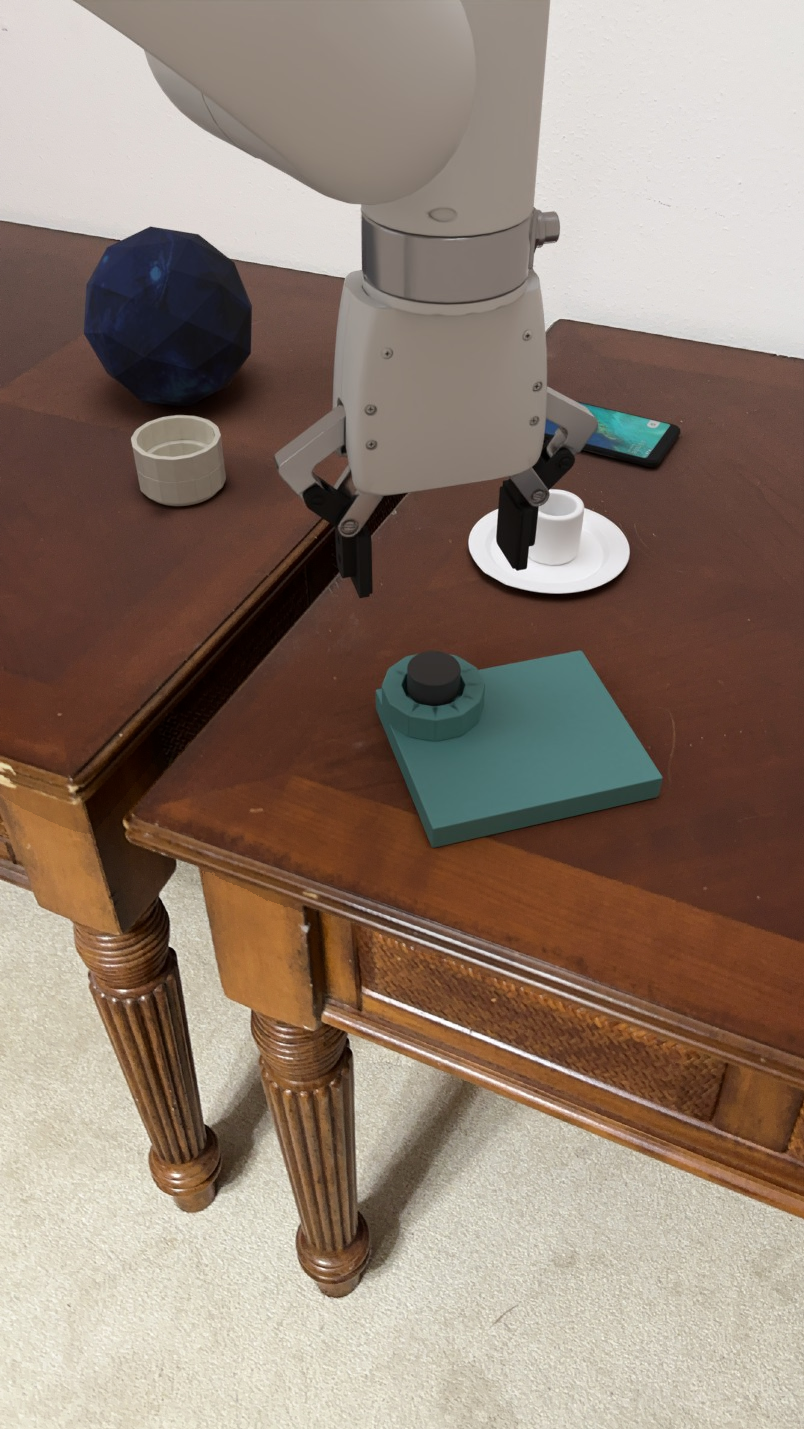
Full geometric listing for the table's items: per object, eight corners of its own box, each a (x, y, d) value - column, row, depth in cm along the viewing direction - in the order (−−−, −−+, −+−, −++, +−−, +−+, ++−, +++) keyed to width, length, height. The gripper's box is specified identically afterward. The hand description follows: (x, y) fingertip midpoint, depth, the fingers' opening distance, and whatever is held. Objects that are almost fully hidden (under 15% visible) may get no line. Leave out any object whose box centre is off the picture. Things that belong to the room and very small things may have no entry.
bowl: (145, 515, 86) (136, 464, 83) (135, 470, 91) (126, 421, 88) (232, 501, 88) (226, 451, 85) (218, 459, 93) (212, 410, 90)
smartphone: (524, 387, 100) (683, 425, 95) (523, 395, 101) (682, 433, 96) (491, 421, 96) (657, 463, 91) (490, 429, 96) (655, 471, 91)
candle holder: (479, 605, 78) (482, 555, 75) (459, 512, 87) (461, 464, 84) (645, 597, 79) (654, 547, 76) (608, 505, 88) (616, 457, 85)
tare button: (415, 711, 66) (416, 689, 64) (400, 677, 68) (400, 655, 67) (466, 701, 66) (467, 679, 65) (450, 667, 68) (451, 646, 67)
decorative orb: (145, 406, 88) (208, 219, 85) (24, 354, 95) (79, 180, 92) (252, 445, 101) (310, 284, 98) (138, 398, 107) (190, 245, 104)
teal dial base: (431, 849, 62) (432, 807, 60) (372, 703, 71) (371, 662, 68) (658, 797, 65) (668, 755, 62) (575, 663, 74) (581, 622, 71)
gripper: (591, 203, 54) (556, 509, 65) (237, 239, 50) (268, 557, 62) (660, 260, 48) (608, 582, 60) (270, 305, 45) (297, 638, 57)
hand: (436, 568), depth 61 cm, fingers open, 8 cm apart
